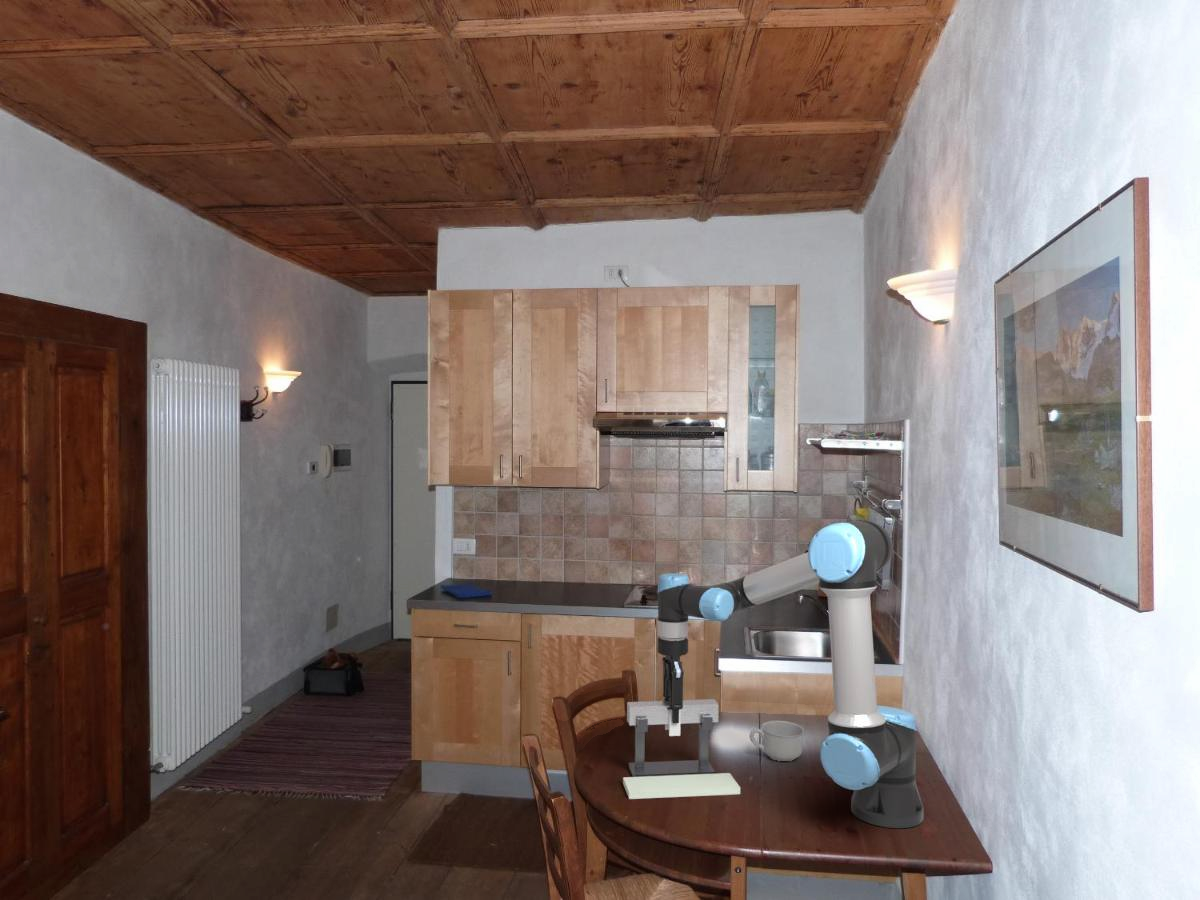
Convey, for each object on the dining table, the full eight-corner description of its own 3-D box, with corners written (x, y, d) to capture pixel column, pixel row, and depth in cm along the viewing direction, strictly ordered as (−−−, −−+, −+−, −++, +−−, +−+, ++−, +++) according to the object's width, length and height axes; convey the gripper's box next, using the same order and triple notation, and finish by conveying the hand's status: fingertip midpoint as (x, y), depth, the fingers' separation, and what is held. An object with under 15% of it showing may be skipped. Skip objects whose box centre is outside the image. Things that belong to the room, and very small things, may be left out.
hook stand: (715, 776, 215) (716, 717, 215) (634, 779, 213) (634, 719, 212) (707, 764, 223) (707, 707, 223) (628, 767, 221) (629, 709, 220)
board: (740, 794, 205) (740, 787, 205) (629, 799, 201) (629, 792, 201) (729, 779, 214) (729, 773, 213) (623, 783, 210) (623, 777, 210)
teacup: (801, 751, 233) (801, 721, 233) (806, 766, 222) (807, 734, 222) (747, 749, 235) (747, 719, 234) (750, 764, 224) (750, 732, 224)
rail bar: (718, 722, 217) (718, 703, 217) (629, 725, 214) (629, 706, 214) (714, 717, 221) (714, 699, 221) (627, 720, 218) (627, 702, 218)
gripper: (696, 644, 209) (695, 743, 210) (680, 629, 226) (680, 720, 227) (664, 645, 208) (664, 744, 209) (651, 630, 225) (651, 721, 226)
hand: (672, 732), depth 218 cm, fingers closed on rail bar, 4 cm apart
